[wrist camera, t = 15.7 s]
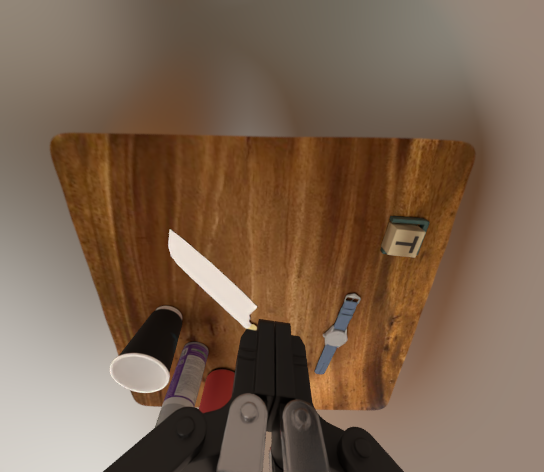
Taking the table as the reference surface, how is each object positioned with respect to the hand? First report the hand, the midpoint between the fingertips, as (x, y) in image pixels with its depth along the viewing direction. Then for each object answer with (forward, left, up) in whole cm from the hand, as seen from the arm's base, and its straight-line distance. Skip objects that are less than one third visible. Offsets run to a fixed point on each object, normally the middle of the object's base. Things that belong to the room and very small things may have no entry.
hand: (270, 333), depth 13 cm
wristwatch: (+28, -7, -25) cm, 39 cm away
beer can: (+26, -31, -25) cm, 48 cm away
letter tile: (+16, +10, -25) cm, 32 cm away
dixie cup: (+8, -28, -25) cm, 39 cm away
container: (+17, -30, -25) cm, 43 cm away
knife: (+13, -16, -25) cm, 33 cm away
